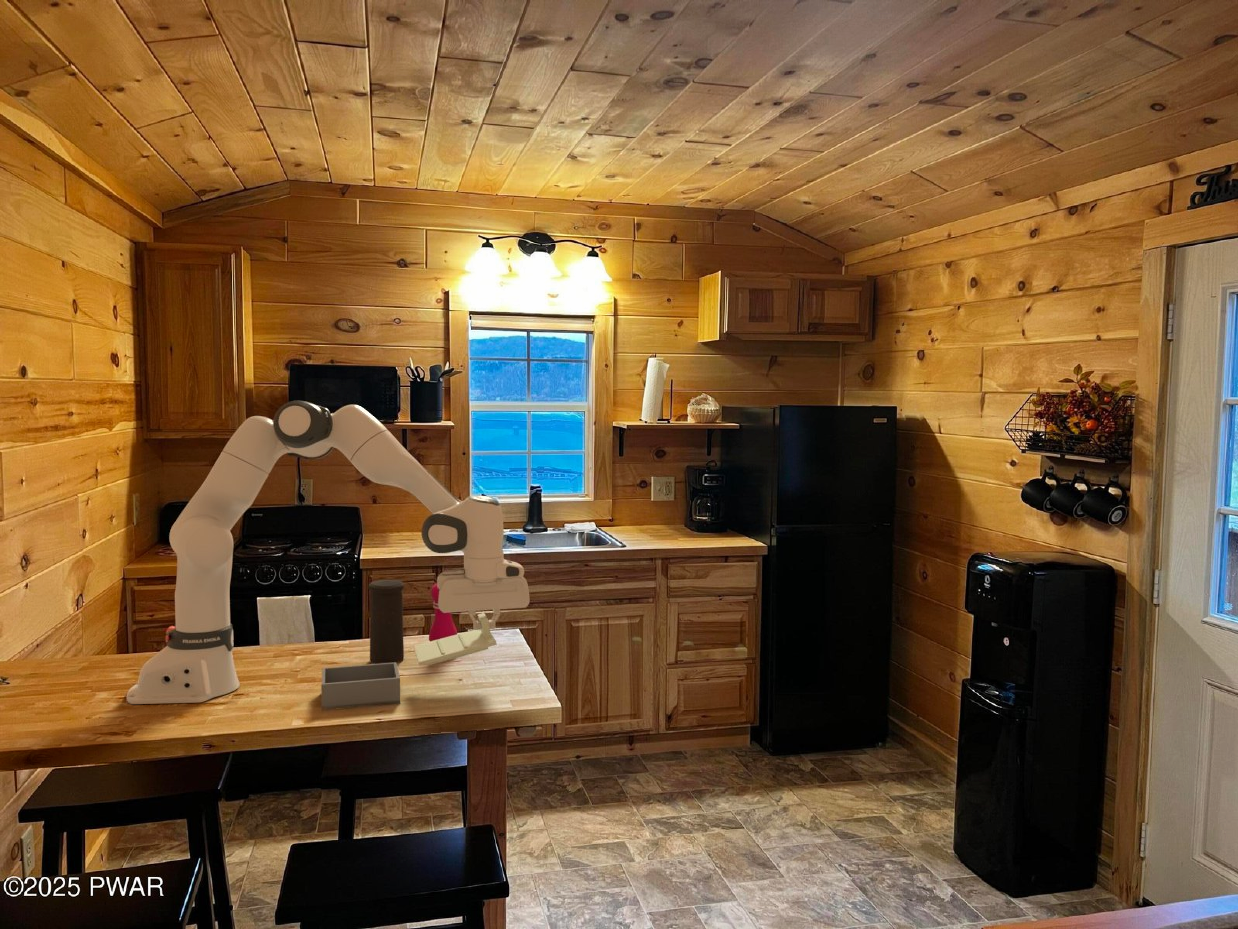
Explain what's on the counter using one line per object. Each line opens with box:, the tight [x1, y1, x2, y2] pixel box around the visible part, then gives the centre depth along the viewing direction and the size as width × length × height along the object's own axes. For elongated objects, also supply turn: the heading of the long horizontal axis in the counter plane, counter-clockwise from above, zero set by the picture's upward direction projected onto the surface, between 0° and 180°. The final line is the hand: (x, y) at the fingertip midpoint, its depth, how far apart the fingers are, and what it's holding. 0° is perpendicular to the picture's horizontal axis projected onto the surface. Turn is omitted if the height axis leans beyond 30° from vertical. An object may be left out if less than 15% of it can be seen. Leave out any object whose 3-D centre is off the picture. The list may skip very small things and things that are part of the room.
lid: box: [413, 612, 497, 666], centre depth 206 cm, size 17×13×6 cm
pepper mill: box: [428, 582, 458, 642], centre depth 234 cm, size 7×7×20 cm
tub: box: [320, 662, 401, 711], centre depth 201 cm, size 16×12×6 cm
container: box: [367, 579, 405, 664], centre depth 228 cm, size 9×9×20 cm
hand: (484, 629), depth 208 cm, fingers closed on lid
